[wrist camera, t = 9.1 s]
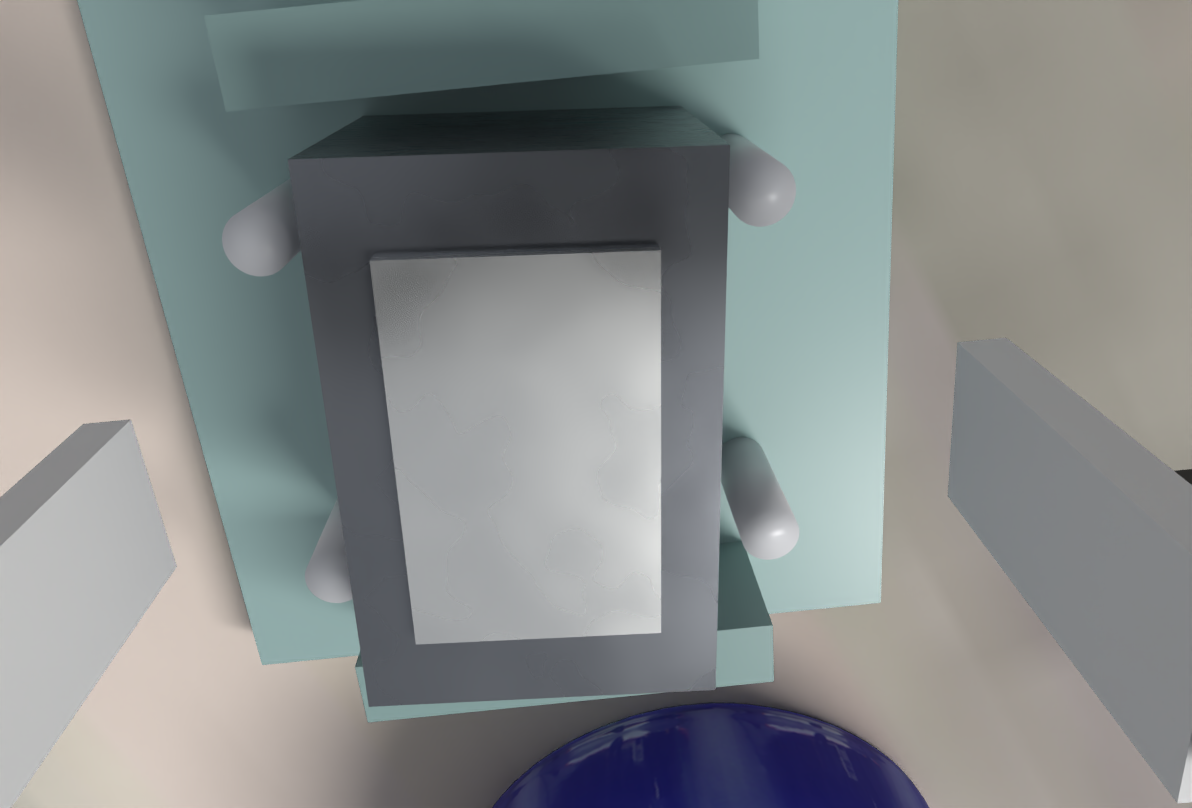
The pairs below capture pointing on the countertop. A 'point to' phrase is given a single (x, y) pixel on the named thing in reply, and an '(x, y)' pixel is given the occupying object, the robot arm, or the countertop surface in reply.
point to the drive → (523, 395)
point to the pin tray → (520, 83)
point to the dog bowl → (715, 765)
